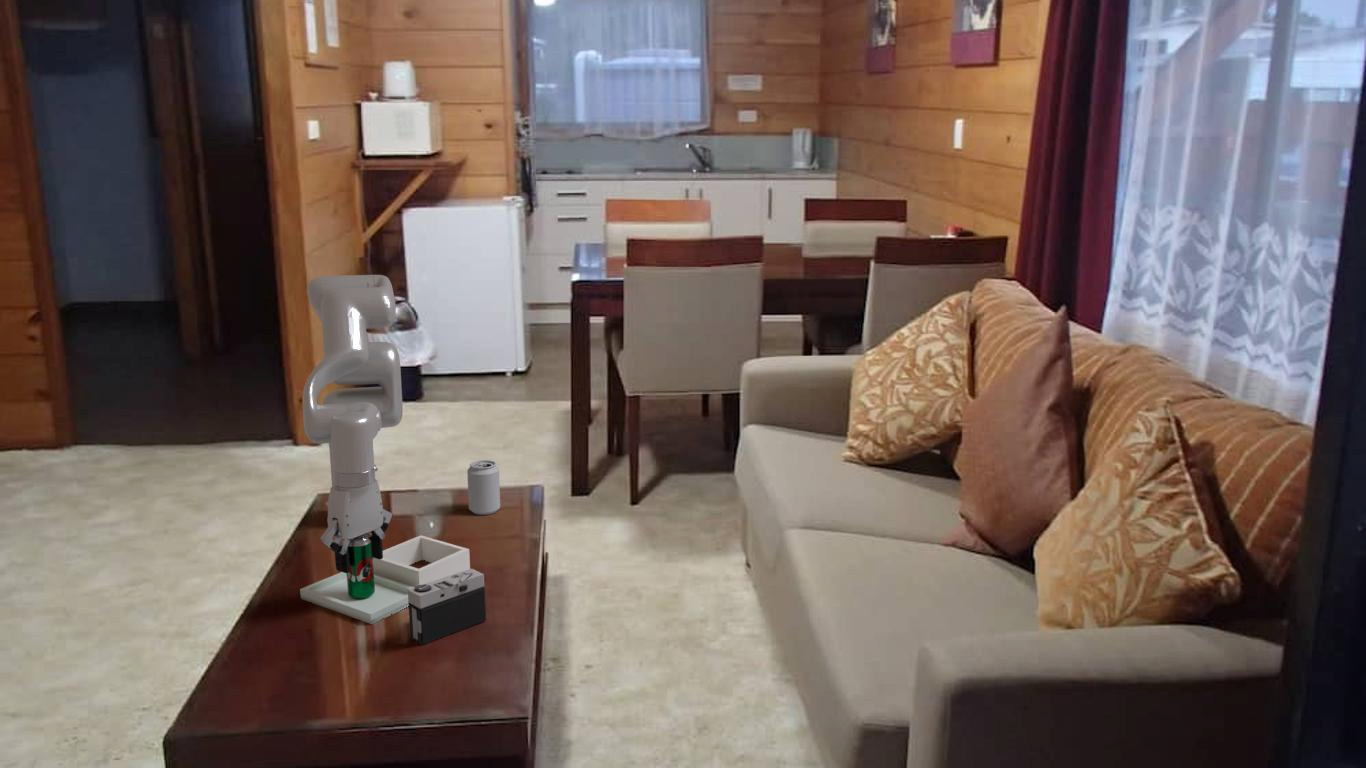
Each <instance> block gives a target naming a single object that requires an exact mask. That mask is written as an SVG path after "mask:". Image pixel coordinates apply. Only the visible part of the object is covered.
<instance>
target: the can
mask: <svg viewBox="0 0 1366 768" xmlns="http://www.w3.org/2000/svg"><path fill="white" fill-rule="evenodd" d="M466 473H467V493H468V494H467V496H468V498H467V499H468V509H469V511H471V512H472V513H473V514H475V515H480V516H487V515H492V514H495V513H497V511H498V510H499V509H500V508H501V492H500V491H501V488H500V487H501V486H500V484H501V483H500V468H499V467H498V466H497V462H496V461H495V460H491V459H490V460H489V459H488V460H487V459H481V460H474V461H472V462H470V463H469V468H468V469H467V472H466Z"/></svg>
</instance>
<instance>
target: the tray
mask: <svg viewBox="0 0 1366 768" xmlns="http://www.w3.org/2000/svg"><path fill="white" fill-rule="evenodd" d="M374 583H375V592H374V594H373V595H372V596H370V597H368V598H365V599H353V598H351V597H350V596H349V595H348V587H347V574H346V573H344V572H341V571H340V572H339V573H336V574H334V575H332V576H329V577H326V578H324V579H321V580H318V581H317V582H314V583H312V584H309V585H307V586H304V587H302V588H300V589H299V591H300V599H301V600H303V601H306V602H309V603H311V602H312V604H315V605H317V606H320V607H323V608H325V609H328V610H331V611H334V612H336V613H338V614H339V613H340V614H341V615H344V616H348V617H350V618H354V619H356V620H358V621H362V622H364V623H367V624H370V625H373V624H375V623H377V622H380V621H381V619H382V620H384V619H385V618H388V617H390V616H392V615H394V614H396V613H398V612H401V611H402V609H403V610H404V608H405V609H407V608H409V607H408V606H409V604H408V589H411V588H414V587H412V586H409V585H406V584H403V583H400V582H397V581H394V580H391V579H388V578H385V577H381V576H378V575H375V574H374ZM406 607H407V608H406ZM400 610H401V611H400ZM391 614H392V615H391ZM383 618H384V619H383Z"/></svg>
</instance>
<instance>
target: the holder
mask: <svg viewBox="0 0 1366 768" xmlns="http://www.w3.org/2000/svg"><path fill="white" fill-rule="evenodd" d="M470 555H471V554H470V549H469V548H467V547H463V546H459V545H456V544H452V543H449V542H446V541H442V540H438V539H436V538H431V537H428V536H425V535H422V534H421V535H418V536H416V537H413V538H410V539H408V540H405V541H403V542H401V543H399V544H396V545H393V546H391V547H389V548H386V549H384V550H383V559H377V558H373V568H374V574H375V575H378V576H381V577H385V578H388V579H391V580H394V581H397V582H400V583H403V584H406V585H409V586H412V587H417V586H419V585H423V584H426V583H429V582H432V581H435V580H438V579H441V578H444V577H447V576H450V575H453V574H456V573H459V572H462V571H465V570H468V569H471V560H470V559H471V557H470ZM424 560H425V562H428V564H427V565H424V566H422V567H420V568H417V567H414V566H412V564H415V562H416V563H418V562H420V561H424Z"/></svg>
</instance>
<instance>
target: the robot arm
mask: <svg viewBox="0 0 1366 768" xmlns="http://www.w3.org/2000/svg"><path fill="white" fill-rule="evenodd" d="M306 292H307V293H306V294H307V298H308V300H309V303H310V305H311V307H312V309H313V310H314V312H315V314H316V315H317V316H318V318H319V320H320V324H321V326H322V327H321V328H322V330H321V331H322V344H323V345H322V346H323V359H322V360H321V361H320V362H319V363H318V364H316V366H315V367H314V369H313V370H312V371H311V372H310V374H309V376H308V377H307V379H306V382H305V384H304V387H303V391H302V419H303V420H302V421H303V430H304V434H305V436H306V438H307V439H308V440H309V441H310V442H311V443H314V444H317V445H319V444H320V445H321V444H328V447H329V450H328V451H329V460H330V461H329V462H330V475H331V487H330V490H329V495H328V501H327V500H326V502H325V507H326V508H327V519H326V520H327V528H326V530H325V531H324V533H322V535H321V536H320V541H321V542H323V544H324V545H326V548H328V549H329V550H331V552H333V553H334V560H335V561H334V562H335V568H336V571H338V572H340V573H341V572H344V573H349V572H350V563H349V554H348V553H346V550H347V547H348V545H349V542H350V539H353V538H356V537H359V536H361V535H364V534H370V535H369V538H370V539H371V540H372V553H373V558H377V559H383V551H384V550H383V539H385V536H386V534H385V533H386V531H387V529H388V528H389V524H390V522H391V519H392V517H393V513H392V512H390V511H388V510H386V509H385V508H383V501H382V494H381V489H380V485H379V482H378V480H377V479H376V472H377V471H378V470H379V469H378V468H379V467H378V466H377V464H375V455H374V439H375V438H376V437H377V435H378V433H379V432H380V431H381V429H385V428H393V427H396V426H398V425H399V424H400V423H401V421H402V419H403V414H404V413H403V409H404V408H403V390H402V376H401V375H402V374H401V373H402V371H401V360H400V355H399V351H398V349H397V347H396V345H395V344H392V343H391V342H388V341H369V342H368V338H367V336H368V335H367V329H381V328H383V329H384V328H389V327H391V326H393V324H394V322H395V320H396V313H397V312H396V311H397V309H396V308H397V307H396V306H397V305H396V299H395V295H394V294H395V293H394V289H393V286H392V283H391V281H390V278H389V277H388V276H386V275H383V274H354V275H353V274H352V275H347V274H346V275H345V274H344V275H341V274H340V275H326V276H318V277H317V276H316V277H315V278H312V279H311V280H309V282H308V283H307V287H306ZM331 383H332V384H334V385H337V386H360V385H362V386H363V385H376V384H377V385H379V386H371V387H369V386H368V387H349V388H340V389H335V390H332V391H330V392H328V393H327V394H326V395H324V397H323V399H322V404H318V397H319V394H320V393H321V392H322V390H323V389H324V388H326V387H327V386H328V385H329V384H331ZM333 537H334V540H333Z"/></svg>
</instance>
